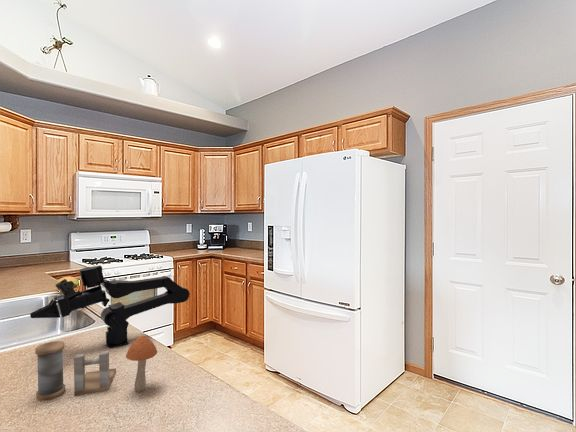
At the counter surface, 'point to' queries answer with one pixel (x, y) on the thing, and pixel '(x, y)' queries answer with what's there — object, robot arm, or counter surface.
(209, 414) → the counter surface
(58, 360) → the ball
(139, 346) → the mushroom
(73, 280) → the hamburger
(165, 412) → the counter surface
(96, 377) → the grey h-shaped frame
